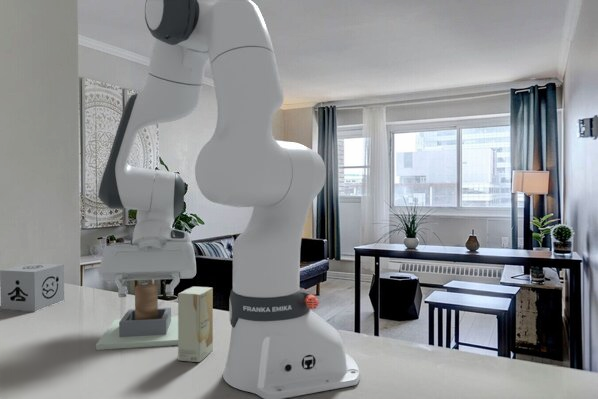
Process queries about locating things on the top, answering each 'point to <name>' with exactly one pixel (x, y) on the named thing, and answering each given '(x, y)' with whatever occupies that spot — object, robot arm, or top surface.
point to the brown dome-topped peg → (146, 302)
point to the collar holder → (141, 331)
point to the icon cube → (31, 286)
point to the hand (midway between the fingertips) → (145, 294)
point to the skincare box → (195, 323)
